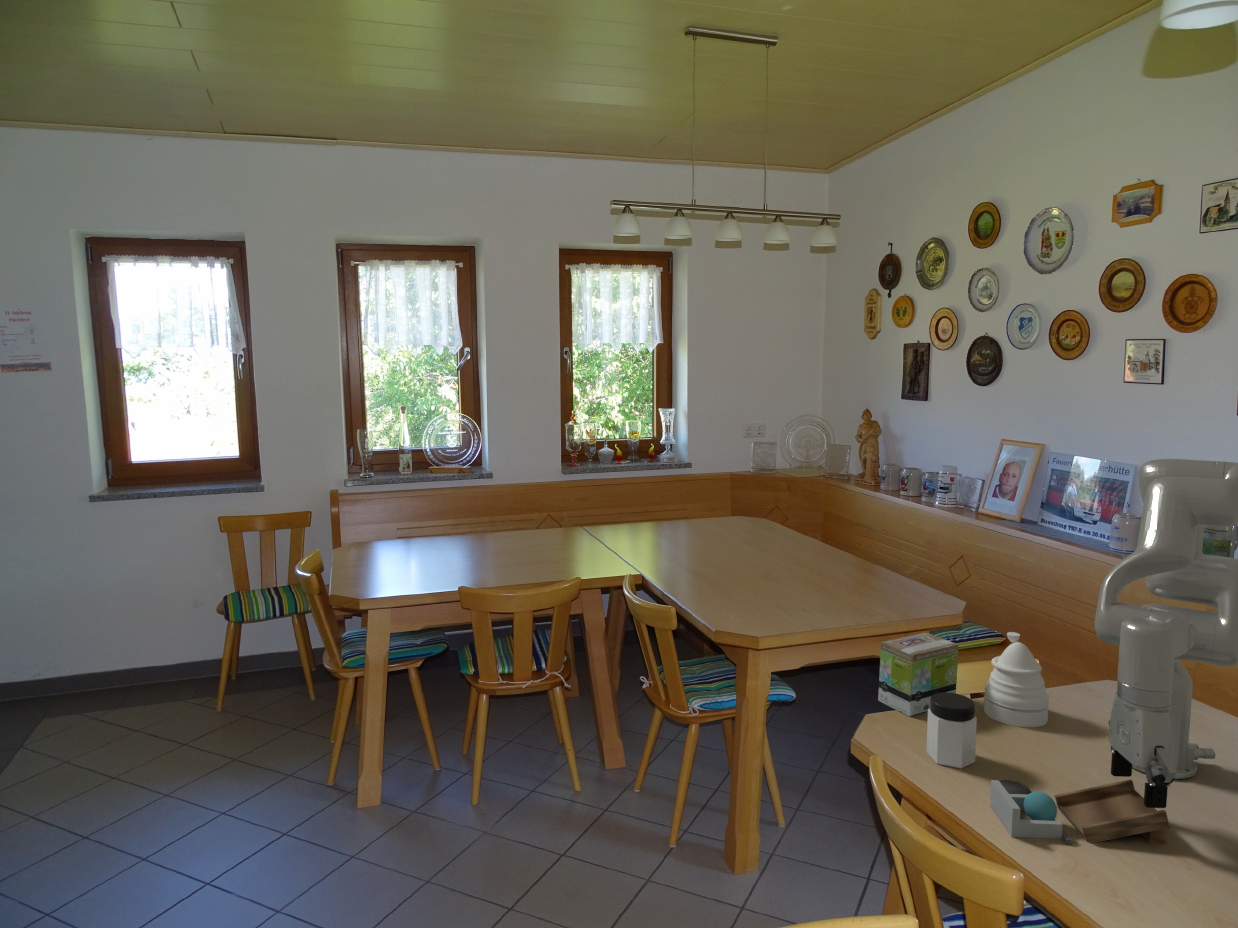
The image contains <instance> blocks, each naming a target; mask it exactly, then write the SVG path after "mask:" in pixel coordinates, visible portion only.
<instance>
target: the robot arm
mask: <svg viewBox="0 0 1238 928" xmlns="http://www.w3.org/2000/svg"><path fill="white" fill-rule="evenodd" d="M1137 477H1138V478H1137V480H1138V489H1139V492H1140V497H1141V500H1142V503H1143V505H1142V512H1141V518H1140V523H1139V531H1138V537H1137V545H1136V548H1135V550H1134V551H1133V552H1132V553H1130V554H1129V555H1127V556H1125V557H1123V559H1121V560H1119V562H1117V564H1116V565H1114V566H1113V567H1112V568H1111V569H1110V570H1109V571H1108V573H1107V574H1106V576H1105V577H1104V579H1103V580H1102V583H1101V585H1100V589H1099V593H1098V600H1097V605H1096V609H1095V610H1096V611H1095V616H1094V630H1095V633H1096V636H1097V637H1098V638H1099V639H1100V640H1101V641H1102V642H1104V643H1106V644H1109V645H1114V646H1118V647H1119V649H1118V665H1117V680H1116V681H1117V683H1116V693H1115V696H1114V699H1113V701H1112V702H1113V703H1112V705H1111V712H1110V717H1109V718H1110V719H1109V720H1108V727H1109V730H1108V742H1109V744H1110V751H1111V761H1110V764H1111V765H1110V774H1111V776H1113V777H1127V778H1129V777H1132V775H1133V769H1135V770H1136V771H1139V772H1142V773H1145V777H1146V780H1147V782H1144V790H1143V798H1144V805H1145V806H1146V807H1147V808H1155V809H1165V808H1166V807H1167V805H1168V804H1167V801H1168V789H1169V787H1170V786H1171V784H1172V783H1174V779H1175V780H1180V779H1181V780H1184V779H1189V778H1191V777H1194V776H1195V775H1196V774H1197V771H1198V765H1197V764H1196V762H1195V761H1197V760H1198V759H1203V760H1213V759H1214V760H1215V759H1216V752H1215V749H1213V748H1210V747H1209V748H1208V747H1201V748H1200V746H1199V744H1198V743H1189V741H1190V728H1191V727H1190V726H1191V713H1192V700H1193V699H1192V698H1193V689H1194V687H1193V679H1192V676H1191V675H1190V673H1189V671H1188V669H1187V668H1186V666H1184V664H1183V663H1182V662H1181V660H1186V661H1187V660H1188V661H1191V662H1197V663H1202V664H1208V665H1214V666H1220V667H1230V668H1231V667H1235V666H1238V559H1236V558H1233V557H1229V556H1221V555H1214V554H1206V553H1203V546H1204V545H1203V544H1204V537H1205V536H1204V535H1205V531H1204V527H1203V526H1204V525H1205V526H1218V527H1227V528H1228V527H1234V526H1237V525H1238V462H1233V461H1222V460H1219V461H1218V460H1202V459H1201V460H1199V459H1198V460H1197V459H1184V458H1183V459H1181V458H1159V459H1152V460H1148V461H1146V462H1144V463H1142V464H1141V466H1140V467H1139V470H1138V476H1137ZM1143 578H1145V585H1146V589H1147V590H1148V592H1149V593H1150V594H1151V595H1153V596H1154V597H1155V596H1156V597H1158V598H1161V599H1168V600H1173V601H1178V602H1185V603H1190V604H1191V603H1192V604H1198V605H1205V606H1210V607H1212V608H1213V609H1215V610H1216V611H1217V612H1214V611H1213V612H1211V611H1205V610H1199V609H1191V608H1188V607H1181V606H1174V605H1169V604H1162V603H1161V604H1160V603H1159V604H1158V603H1147V604H1142V605H1137V604H1132V603H1131V604H1130V603H1125V602H1118V599H1119V596H1120V595H1121V592H1122V591H1123V589H1124V588H1126V586H1128V585H1130V584H1132V583H1133V582H1135V581H1137V580H1140V579H1143Z"/></svg>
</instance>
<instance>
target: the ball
mask: <svg viewBox="0 0 1238 928" xmlns="http://www.w3.org/2000/svg"><path fill="white" fill-rule="evenodd" d="M1031 792H1032V793H1030V794H1028V795H1027V796H1026V798H1025V800H1024V809H1025V811H1024V812H1025V814H1026V816H1028V818H1030V820H1045V821H1053V820H1054V819H1055V818H1056V817H1057V815H1058V807H1057V803H1056V801H1054V799H1053V798H1052V797H1051V796H1050V795H1049V794H1047V793H1045V792H1041V791H1031ZM1055 820H1056V819H1055Z"/></svg>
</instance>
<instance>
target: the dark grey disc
mask: <svg viewBox="0 0 1238 928" xmlns="http://www.w3.org/2000/svg"><path fill="white" fill-rule="evenodd" d="M998 780H999V782H1000V783H1001V784H1002V786H1003V787H1004V788H1005V789H1006V791H1007V792H1008V793H1009V794H1027V795H1028V794H1030V793H1032V792H1033V791H1032V790H1031V789H1030V788H1029V787H1028V786H1026V785H1025V784H1024V783H1022V782H1018V781H1015V780H1011V779H998Z"/></svg>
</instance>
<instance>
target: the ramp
mask: <svg viewBox="0 0 1238 928" xmlns="http://www.w3.org/2000/svg"><path fill="white" fill-rule="evenodd" d="M1054 798H1055V804H1056V807H1057V810H1058V811H1060V812H1061V813H1062V815H1063V816H1064V817H1065V818H1066V819H1067V820H1068V822H1070V824H1071V825H1072V826H1073V827H1074V828H1075V830H1076V831H1077V832H1078V834H1080V836H1081V837H1082V838H1083V840H1085V841H1086V842H1088V843H1090V842H1091V843H1099V842H1104V841H1109V840H1114V839H1120V838H1125V837H1129V836H1133V835H1134V836H1135V835H1140V834H1141V836H1143V838H1144V839H1146V840H1147V842H1148V843H1149V844H1166V843H1167V829H1169V828H1170V823H1169V818H1168V815H1167V811H1166V810H1165V809H1161V810H1157V808H1147V807H1146V806H1145V805H1144V796H1142V795H1141V794H1140V793H1139V792H1138V791H1137V790H1136V789H1135V785H1134V781H1133V780H1132V779H1126V780H1122V781H1121V780H1120V781H1118V782H1117V781H1116V782H1113V783H1108V784H1103V785H1097V786H1093V787H1088V788H1084V789H1083V788H1082V789H1079V790H1077V789H1076V790H1073V791H1069V792H1063V793H1059V794H1055V795H1054Z"/></svg>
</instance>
